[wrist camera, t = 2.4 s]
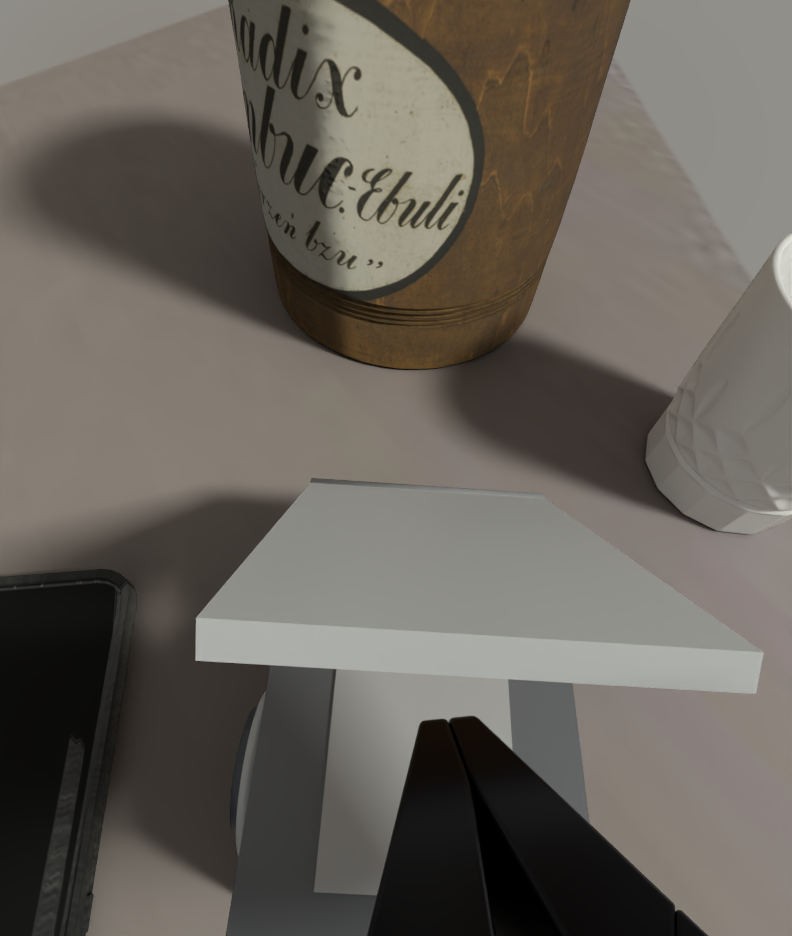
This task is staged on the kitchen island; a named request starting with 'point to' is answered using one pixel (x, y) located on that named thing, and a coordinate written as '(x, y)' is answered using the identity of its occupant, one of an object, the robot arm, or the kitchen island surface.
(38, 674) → the phone
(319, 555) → the side door
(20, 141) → the kitchen island surface
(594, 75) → the wooden container
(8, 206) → the kitchen island surface
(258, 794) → the camera case
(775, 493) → the white cup
